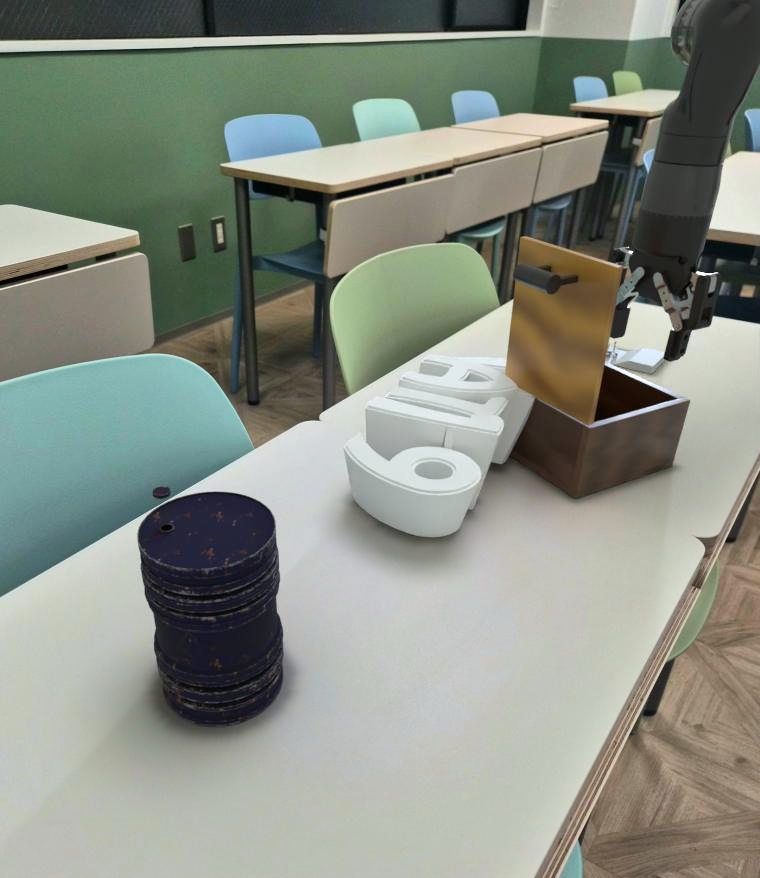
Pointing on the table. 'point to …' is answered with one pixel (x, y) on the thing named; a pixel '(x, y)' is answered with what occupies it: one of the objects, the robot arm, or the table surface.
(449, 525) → the white letter sign
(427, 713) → the table surface
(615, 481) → the brown wooden box
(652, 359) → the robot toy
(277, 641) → the navy speckled cylinder
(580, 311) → the lid
